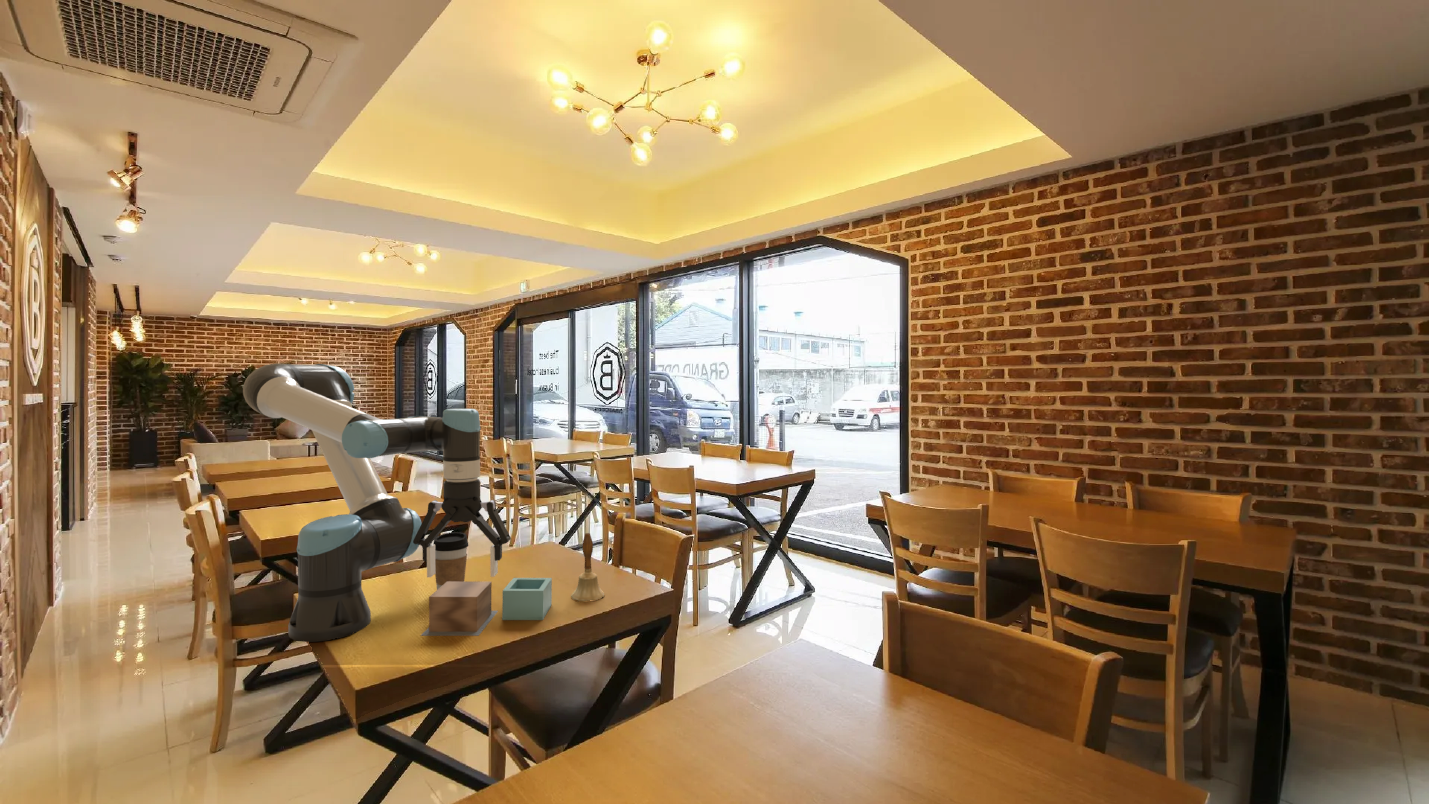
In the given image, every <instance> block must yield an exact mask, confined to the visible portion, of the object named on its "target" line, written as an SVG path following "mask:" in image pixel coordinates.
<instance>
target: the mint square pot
mask: <svg viewBox="0 0 1429 804" xmlns="http://www.w3.org/2000/svg"><path fill="white" fill-rule="evenodd" d="M552 584H553V578H552V577H513V578H512V579H511V580H510V581H509V582H508V584H507V585H506V586H505V587H504V588H503V590H502V608H501V609H502V610H501V611H502V613H501V614H502V617H501V618H502V621H543V620H544V619H545V617H546V615H547V614H548V612H549V611H550V609H551V608H552V603H553V601H552V599H553V597H552V596H553V595H552V592H553V591H552V590H553V589H552V587H553V585H552Z"/></svg>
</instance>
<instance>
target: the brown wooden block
mask: <svg viewBox="0 0 1429 804" xmlns="http://www.w3.org/2000/svg"><path fill="white" fill-rule="evenodd" d="M492 582H493V581H464V582H460V581H447V582H446V583H445V584H443V585H442V586H441V587H440V588H439V589H438V590H437V589H436V590H435V591H434V592H432V593H431V595H429V597H428V628H429V632H477V631H478V630H479V628H480V627H481V626H482V625H483V624H484V622H485V621H486V620H487V619H488V617H489V616H490V615H491V611H492V586H493V585H492Z"/></svg>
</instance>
